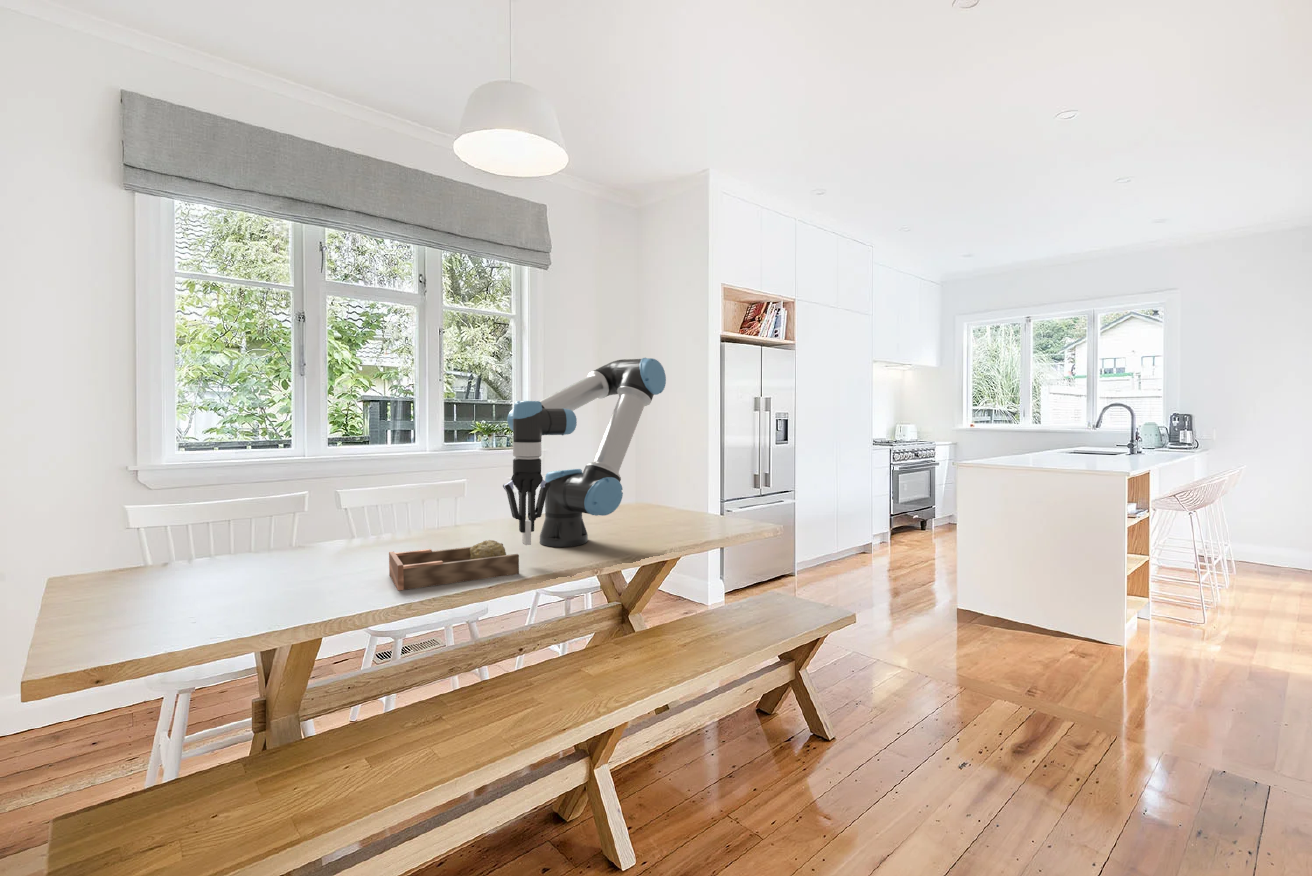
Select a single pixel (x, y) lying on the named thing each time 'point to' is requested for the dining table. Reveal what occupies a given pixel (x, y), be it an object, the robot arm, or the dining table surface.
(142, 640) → the dining table surface
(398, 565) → the tray
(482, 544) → the coral
